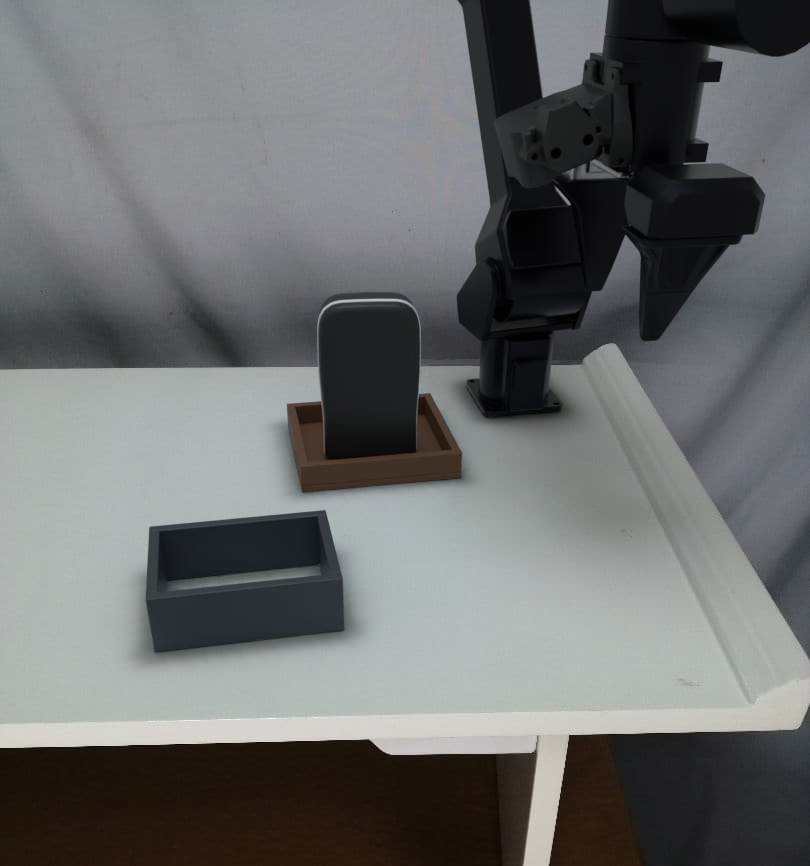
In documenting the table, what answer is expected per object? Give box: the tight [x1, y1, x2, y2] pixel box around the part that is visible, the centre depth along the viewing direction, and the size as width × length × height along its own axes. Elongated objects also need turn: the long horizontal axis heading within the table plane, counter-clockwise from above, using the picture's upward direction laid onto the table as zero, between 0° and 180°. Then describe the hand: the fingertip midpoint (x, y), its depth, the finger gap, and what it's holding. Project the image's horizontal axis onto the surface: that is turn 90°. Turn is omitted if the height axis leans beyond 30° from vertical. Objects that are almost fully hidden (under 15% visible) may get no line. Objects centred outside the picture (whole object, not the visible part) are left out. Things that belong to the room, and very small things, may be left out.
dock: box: [145, 509, 345, 653], centre depth 53 cm, size 7×10×4 cm
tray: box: [286, 392, 463, 493], centre depth 69 cm, size 10×11×2 cm
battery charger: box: [316, 291, 422, 458], centre depth 66 cm, size 7×4×11 cm, turn 95°
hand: (619, 313), depth 60 cm, fingers open, 9 cm apart
